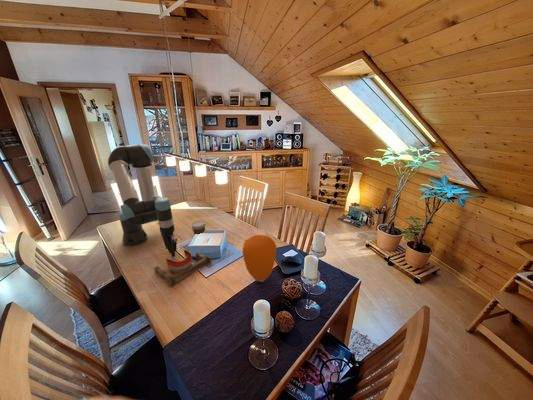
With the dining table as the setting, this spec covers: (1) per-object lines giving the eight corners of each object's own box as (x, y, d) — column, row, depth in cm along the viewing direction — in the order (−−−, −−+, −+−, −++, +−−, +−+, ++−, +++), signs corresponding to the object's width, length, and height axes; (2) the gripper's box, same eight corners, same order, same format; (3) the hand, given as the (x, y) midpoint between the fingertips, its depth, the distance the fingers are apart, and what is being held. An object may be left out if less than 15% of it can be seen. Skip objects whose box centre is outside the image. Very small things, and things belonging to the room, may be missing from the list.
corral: (153, 274, 124) (152, 268, 123) (193, 252, 144) (192, 247, 142) (170, 287, 115) (169, 281, 113) (210, 262, 134) (210, 256, 132)
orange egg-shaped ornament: (246, 268, 128) (244, 230, 119) (276, 269, 127) (276, 230, 118) (242, 291, 112) (239, 248, 103) (276, 291, 111) (276, 248, 102)
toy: (178, 279, 121) (176, 266, 118) (167, 271, 126) (165, 259, 124) (198, 266, 130) (196, 255, 127) (186, 260, 136) (185, 249, 133)
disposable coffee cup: (203, 243, 154) (201, 227, 149) (190, 241, 155) (188, 226, 151) (209, 236, 162) (207, 221, 158) (197, 234, 164) (195, 220, 160)
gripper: (154, 224, 127) (161, 259, 135) (166, 231, 119) (173, 267, 128) (166, 219, 132) (172, 253, 141) (179, 225, 125) (185, 261, 134)
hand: (173, 260), depth 135 cm, fingers closed
